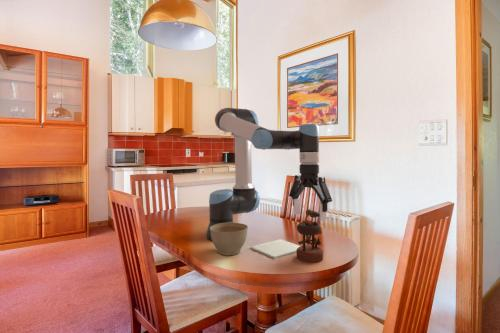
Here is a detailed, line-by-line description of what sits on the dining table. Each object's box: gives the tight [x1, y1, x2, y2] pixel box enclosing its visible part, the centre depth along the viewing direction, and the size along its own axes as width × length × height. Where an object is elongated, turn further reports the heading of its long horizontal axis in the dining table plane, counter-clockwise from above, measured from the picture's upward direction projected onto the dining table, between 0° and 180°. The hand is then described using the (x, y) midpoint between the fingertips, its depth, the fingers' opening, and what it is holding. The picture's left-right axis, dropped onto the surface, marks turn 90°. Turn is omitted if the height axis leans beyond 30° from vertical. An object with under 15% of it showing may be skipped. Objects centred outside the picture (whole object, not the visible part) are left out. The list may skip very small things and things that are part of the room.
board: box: [250, 238, 301, 259], centre depth 131 cm, size 16×18×1 cm
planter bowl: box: [210, 222, 249, 256], centre depth 127 cm, size 16×16×11 cm
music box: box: [296, 209, 324, 264], centre depth 119 cm, size 15×11×20 cm
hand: (309, 217), depth 118 cm, fingers open, 13 cm apart
